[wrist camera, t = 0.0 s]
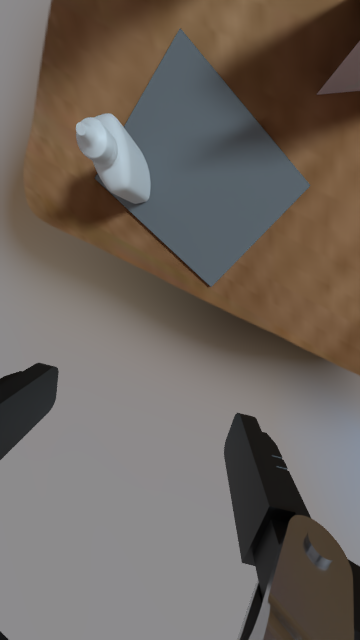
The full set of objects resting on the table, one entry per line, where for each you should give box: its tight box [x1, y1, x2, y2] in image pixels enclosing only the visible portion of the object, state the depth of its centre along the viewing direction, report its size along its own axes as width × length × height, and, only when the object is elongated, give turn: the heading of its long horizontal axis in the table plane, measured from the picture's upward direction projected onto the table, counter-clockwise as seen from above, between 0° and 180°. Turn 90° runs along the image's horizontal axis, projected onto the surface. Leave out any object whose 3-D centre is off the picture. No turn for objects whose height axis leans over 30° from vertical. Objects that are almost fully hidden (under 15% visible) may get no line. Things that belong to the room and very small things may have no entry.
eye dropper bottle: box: [76, 113, 151, 204], centre depth 19 cm, size 4×6×12 cm
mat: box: [95, 29, 310, 287], centre depth 24 cm, size 16×20×1 cm
